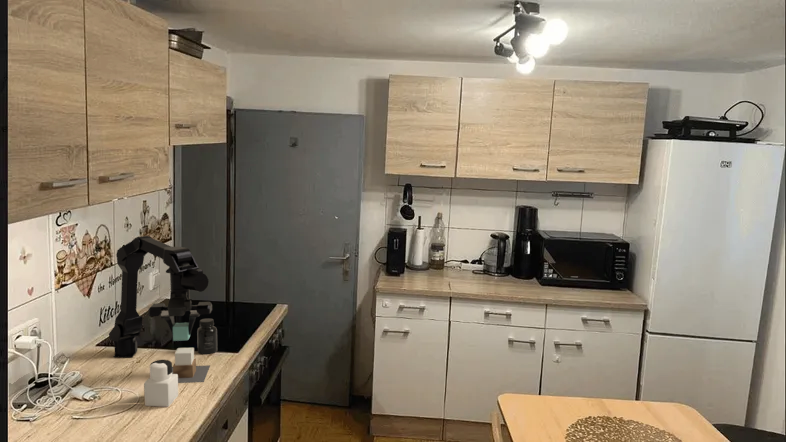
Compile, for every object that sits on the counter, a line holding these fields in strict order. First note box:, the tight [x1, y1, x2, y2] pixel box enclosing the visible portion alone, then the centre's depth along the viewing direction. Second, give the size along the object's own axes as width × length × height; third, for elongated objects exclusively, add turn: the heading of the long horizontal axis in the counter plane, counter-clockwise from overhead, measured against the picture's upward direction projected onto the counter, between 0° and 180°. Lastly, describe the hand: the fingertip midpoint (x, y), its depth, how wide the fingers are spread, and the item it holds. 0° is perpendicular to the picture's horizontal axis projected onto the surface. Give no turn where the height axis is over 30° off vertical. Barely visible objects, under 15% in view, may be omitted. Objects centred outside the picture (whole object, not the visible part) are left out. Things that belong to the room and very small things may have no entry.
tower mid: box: [174, 347, 195, 366], centre depth 188 cm, size 5×5×4 cm
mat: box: [172, 365, 211, 384], centre depth 188 cm, size 14×14×1 cm
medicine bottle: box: [143, 359, 179, 408], centre depth 169 cm, size 7×7×12 cm
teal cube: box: [172, 322, 191, 342], centre depth 187 cm, size 4×4×4 cm
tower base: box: [172, 358, 197, 378], centre depth 188 cm, size 6×6×4 cm
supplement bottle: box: [196, 318, 218, 356], centre depth 209 cm, size 7×7×12 cm
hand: (181, 334), depth 188 cm, fingers closed on teal cube, 4 cm apart
